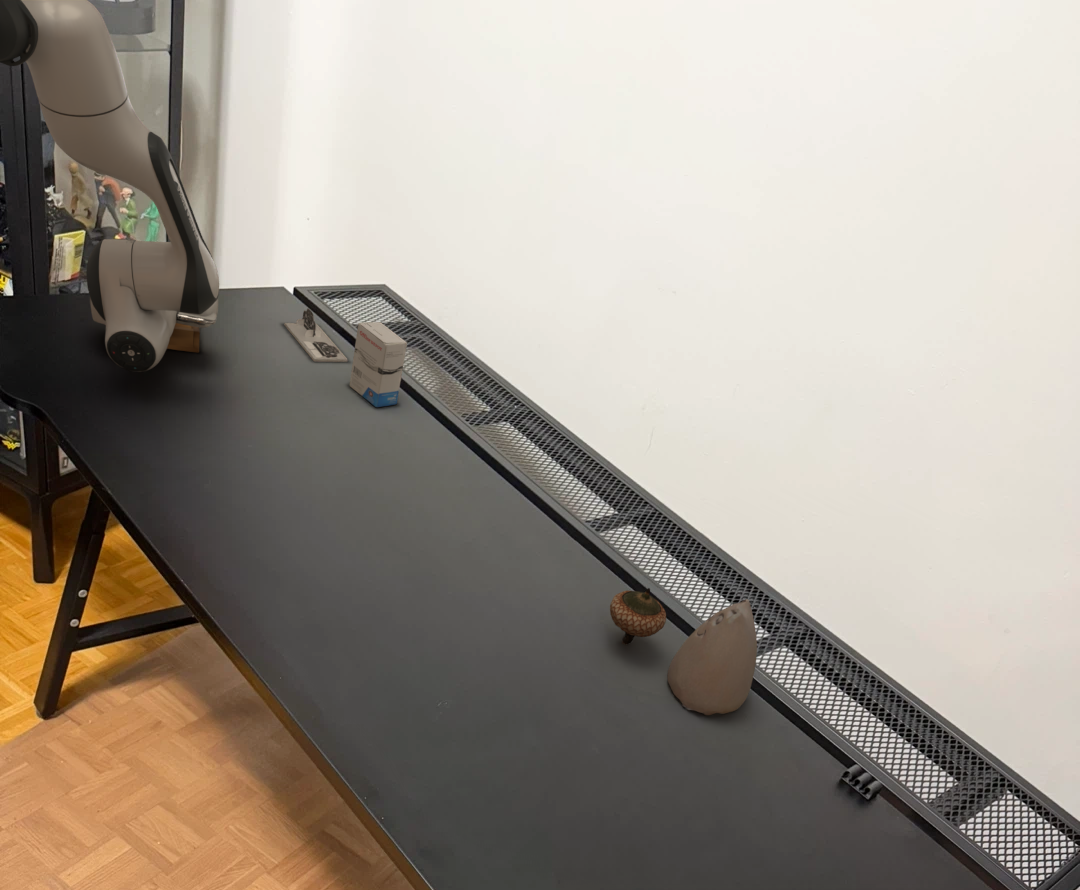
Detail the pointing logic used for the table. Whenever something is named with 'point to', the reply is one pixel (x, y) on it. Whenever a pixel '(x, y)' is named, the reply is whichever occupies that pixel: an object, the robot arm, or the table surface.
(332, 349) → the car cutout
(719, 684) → the sculpture
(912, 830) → the table surface
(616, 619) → the acorn
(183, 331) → the box
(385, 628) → the table surface
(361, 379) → the ink box
